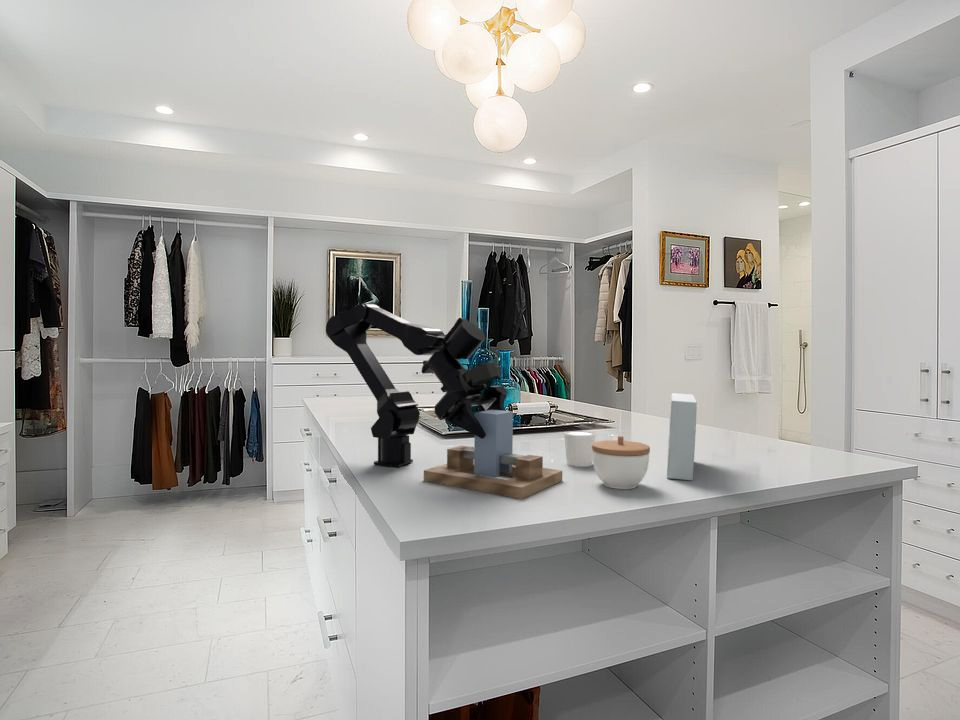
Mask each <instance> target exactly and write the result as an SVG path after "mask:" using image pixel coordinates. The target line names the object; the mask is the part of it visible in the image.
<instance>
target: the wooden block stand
mask: <svg viewBox="0 0 960 720" xmlns="http://www.w3.org/2000/svg"><path fill="white" fill-rule="evenodd" d="M543 462H544V461H543V456H542V455H534V454H527V455H526V454H525V455H523V454H516V453H512V454H511V453H507V454H504V455H500V461H499V463H502V464H509V465H512V472H511V473H505V472H499V476H506V477H510V478H507V479H503V478H499V477H497V478H494V477H488V476H482V475H476V474H474V446H468V445H459V446H458V445H457V446H454V447H451V448H447V450H446V464H442V465H439V466H438V465H437V466H434V467H430V468H427V469H424V470H423V481H424V482H430V483H434V484H440V485H446V486H451V487H456V488H460V489H461V488H462V489H467V490H473V491H478V492H483V493H489V494H494V495H498V496H504V497H510V498H516V499H520V500H522V499H524V498H526V497H529V496H531V495H533V494H536V493H538V492H541V491H542V490H545V489H547V488H550V487H551V486H553V485H556V484H558V483H560V482H562V481H563V470H561V469H553V468H547V467H543V466H544V465H543Z"/></svg>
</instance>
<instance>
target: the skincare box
mask: <svg viewBox="0 0 960 720" xmlns="http://www.w3.org/2000/svg"><path fill="white" fill-rule="evenodd" d="M697 405H698V402H697V400H696V397H695V395H694V394H691V393H690V394H688V393H676V392H673V393H671V399H670V412H669V413H670V414H669V427H668V440H667V441H668V442H667V443H668V444H667V446H668V447H667V467H666V478H667V479H672V480H684V481H693V479H694V478H693V475H694V468H695V466H694V465H695V464H694V463H695V449H696V431H697V411H698V410H697V408H698V407H697Z"/></svg>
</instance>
